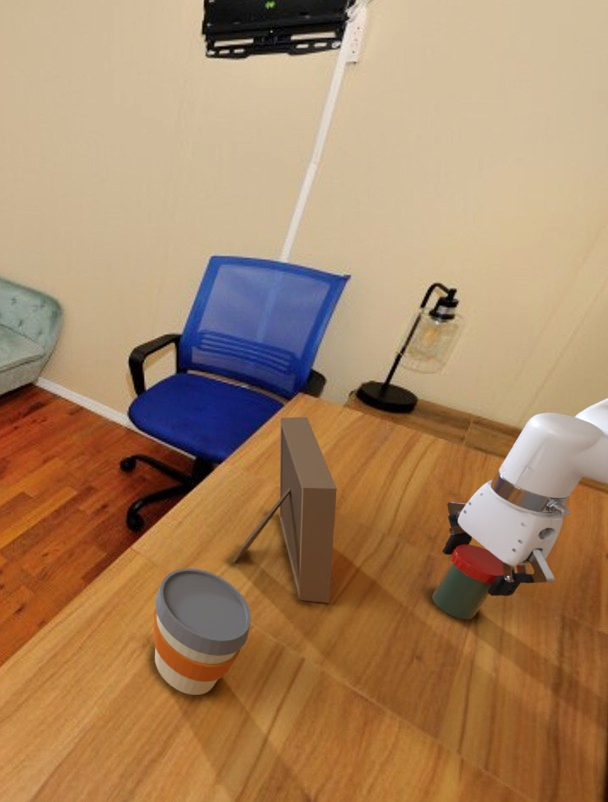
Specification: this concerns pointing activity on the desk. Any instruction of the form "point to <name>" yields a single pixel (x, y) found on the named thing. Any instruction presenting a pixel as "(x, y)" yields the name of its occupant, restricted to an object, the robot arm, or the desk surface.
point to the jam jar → (460, 594)
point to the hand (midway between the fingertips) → (474, 572)
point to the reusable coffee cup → (198, 629)
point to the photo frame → (304, 510)
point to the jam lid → (477, 563)
